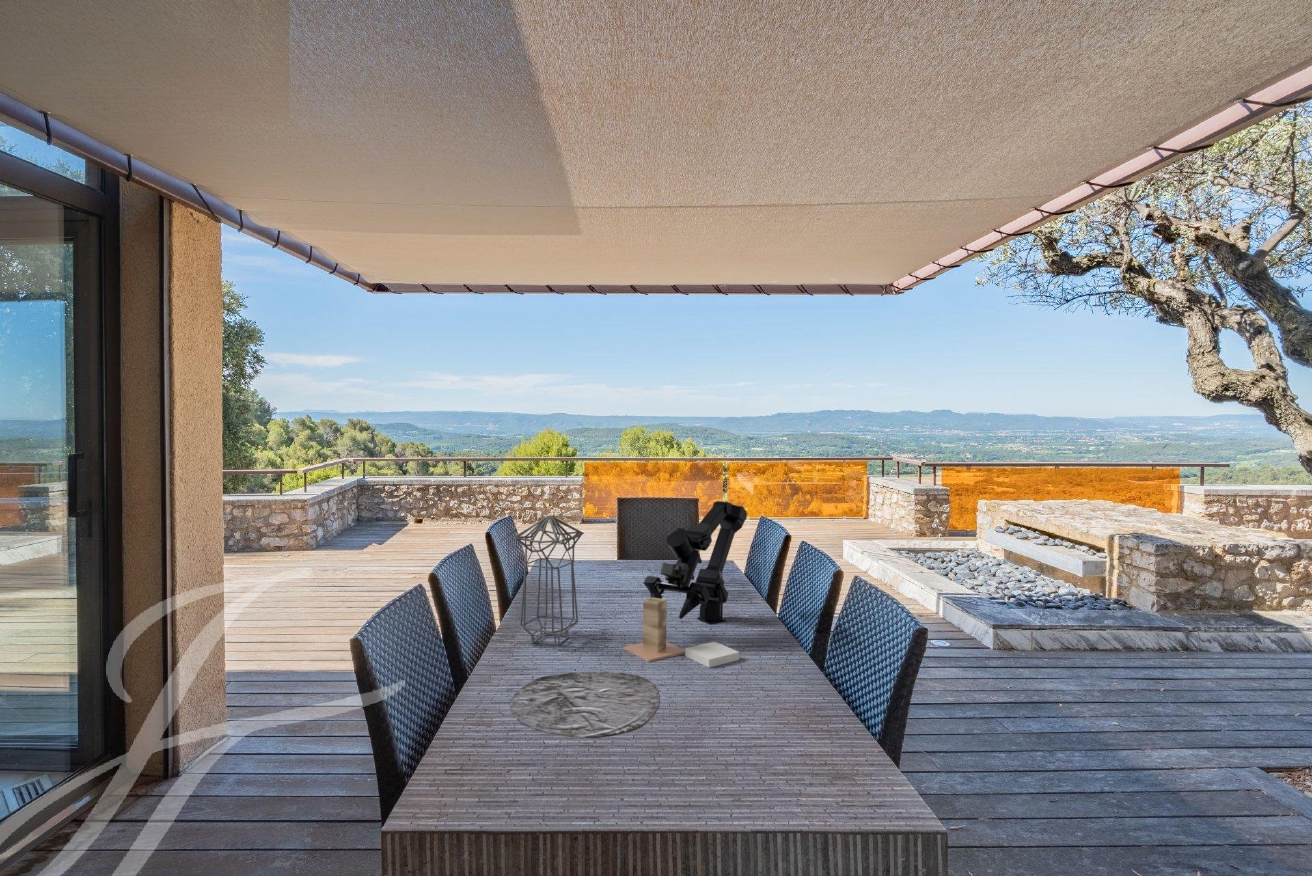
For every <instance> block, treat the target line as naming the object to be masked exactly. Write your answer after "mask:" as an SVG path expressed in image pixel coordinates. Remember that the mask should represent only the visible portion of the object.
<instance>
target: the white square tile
mask: <svg viewBox="0 0 1312 876" xmlns="http://www.w3.org/2000/svg"><path fill="white" fill-rule="evenodd" d="M684 650H685V654H684V656H685V657H686V658H688V659H691V660H693V661H695V662H697V663H699V664H701V665H703V666H705V667H707V668H712V667H717V666H720V665H725V664H729V663H733V662H735V661H740V651H738V650H736V649H733V648H731V647H729V646H726V645H724V644H722V643H719V642H717V641H711V642H707V643H703V644H699V645H695V646H690V647H686V648H684Z"/></svg>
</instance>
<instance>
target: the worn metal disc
mask: <svg viewBox="0 0 1312 876" xmlns="http://www.w3.org/2000/svg"><path fill="white" fill-rule="evenodd" d="M660 704H661V703H660V695H659V689H658V688H657V686H656V685H655V684H654V683H653V681H651V680H650V679H648V678H645V677H643V676H640V675H636V674H632V673H628V672H627V673H626V672H619V671H607V670H606V671H604V670H603V671H602V670H601V671H600V670H598V671H597V670H596V671H595V670H593V671H575V672H573V671H572V672H567V673H560V674H550V675H545V676H544V675H543V676H542V677H539V678H535V679H534V680H532V681H530V682H529V683H527V684H525V685H524V686H523V687H521V688H520V689H518V690H517V691H516V692H515V693H514V694H513V697H512V698H511V699H510V703H509V707H510V709H509V713H510V714H511V715H512V717H513V718H514V719H515V720H516V721H518V722H519V723H520V724H521V725H523V726H524V727H527V728H529V729H531V730H535V731H538V732H542V733H545V734H548V735H558V736H563V737H567V738H580V739H581V738H582V739H596V738H598V739H600V738H607V737H613V736H617V735H621V734H627V733H630V732H632V731H635V730H638V729H641V728H642V727H643V726H645V725H646V723H648V722H649V721H650V720H651V719H652V717H653V716H654V715H655V714H656V712H657V711H658V709H659V707H660Z"/></svg>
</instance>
